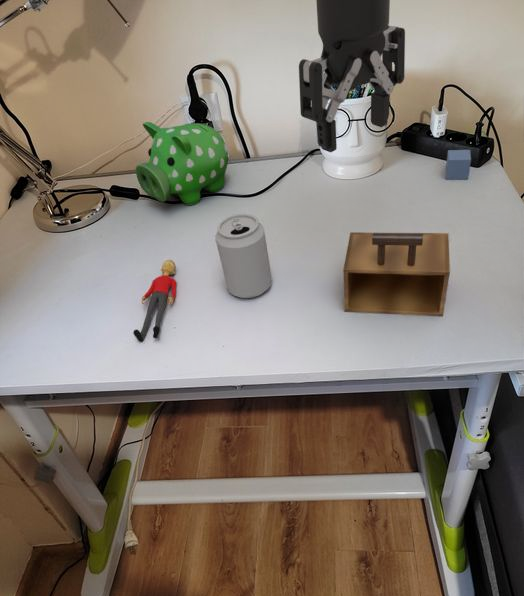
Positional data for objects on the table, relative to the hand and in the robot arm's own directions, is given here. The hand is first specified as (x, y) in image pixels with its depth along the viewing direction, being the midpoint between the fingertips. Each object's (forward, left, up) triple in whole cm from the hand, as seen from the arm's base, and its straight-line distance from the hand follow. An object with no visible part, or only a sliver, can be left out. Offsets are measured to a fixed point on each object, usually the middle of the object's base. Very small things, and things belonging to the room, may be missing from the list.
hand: (354, 137), depth 63 cm
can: (+17, +1, -24) cm, 29 cm away
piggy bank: (+37, -29, -24) cm, 53 cm away
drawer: (-6, +2, -24) cm, 25 cm away
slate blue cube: (-16, -35, -24) cm, 45 cm away
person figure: (+31, +6, -24) cm, 40 cm away
